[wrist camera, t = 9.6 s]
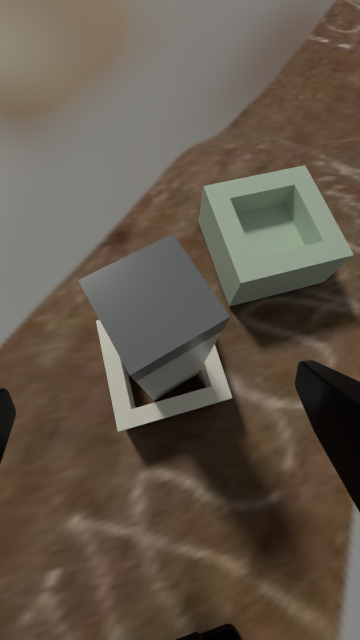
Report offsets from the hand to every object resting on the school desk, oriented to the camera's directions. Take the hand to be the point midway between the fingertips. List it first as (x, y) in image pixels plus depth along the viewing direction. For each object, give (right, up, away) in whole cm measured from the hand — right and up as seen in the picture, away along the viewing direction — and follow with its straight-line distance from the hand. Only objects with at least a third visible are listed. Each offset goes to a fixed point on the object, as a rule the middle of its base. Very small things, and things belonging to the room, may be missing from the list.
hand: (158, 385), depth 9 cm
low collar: (-1, -1, +11) cm, 11 cm away
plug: (0, -1, +11) cm, 12 cm away
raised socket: (+7, +8, +15) cm, 18 cm away
